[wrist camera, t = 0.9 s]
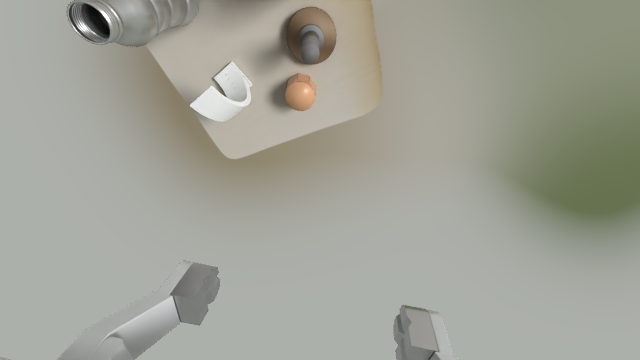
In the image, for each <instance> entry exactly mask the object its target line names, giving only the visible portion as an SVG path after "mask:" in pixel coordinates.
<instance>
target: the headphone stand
mask: <svg viewBox="0 0 640 360" xmlns="http://www.w3.org/2000/svg"><path fill="white" fill-rule="evenodd" d="M214 79H215V80H216V81H217V82H218V84H219V85H220V86H221V88H222V89H223V91H224V92H225V94H226V96H227V97H225V96H224V95H222V94H221V93H220V92H218V91H217V90H216V89H215V88H214V87H213V86H212V85H211V86H210V87H209V88H208V89H207V90H206V91H205V92H203V93H202V94H201V95H200V96H199V97H198V98H197V99H196V100H195V101H193V102H192V103H191V104H190V106H191V107H192V108H193V109H194V110H196V111H197V112H199V113H200V114H202V115H203V116H205V117H207V118H209V119H212V120H215V121H221V122H222V121H227V120H229V119H230V118H232V117H233V116H234V115H236V114H237V113H238V112H239V111H241V110H242V109H243V108H244V107H246V106H247V105H248V104H249V103H250V100H251V94H250V90H249V88H250V87H251V86H252V83H251V82H250V81H249V80H248V79H247V77H246V76H245V75H244V74H243V73H242V72H241V71H240V70H239V69H238V67H237V66H236V65H235V64H234V63H233V62H231V63H229V64H228V65H227V66H226V67H225V68H224V69H223V70H222V71H221V72H220V73H219V74H217V75H216V76H215V77H214Z"/></svg>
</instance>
